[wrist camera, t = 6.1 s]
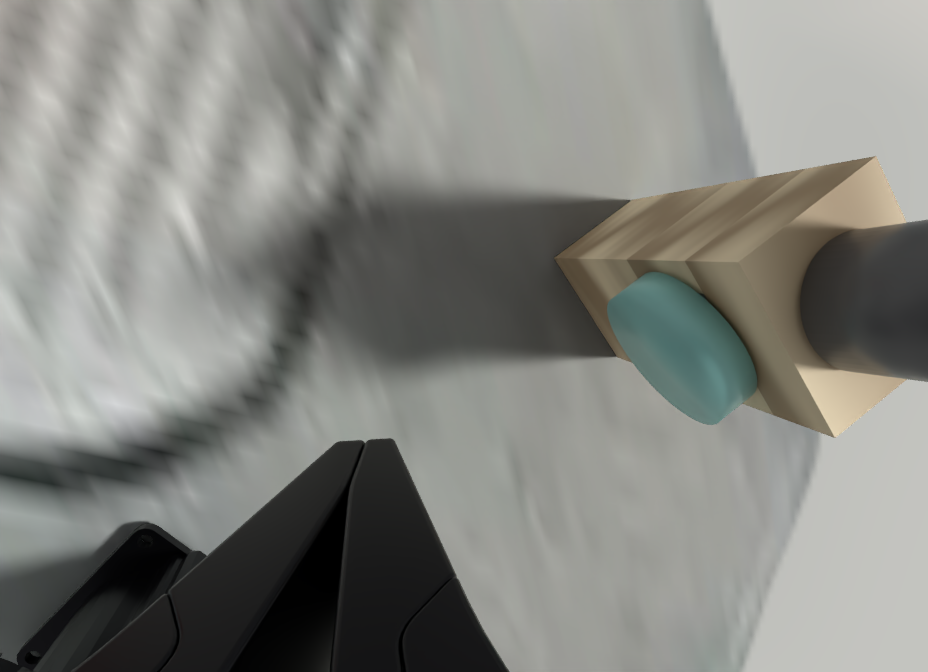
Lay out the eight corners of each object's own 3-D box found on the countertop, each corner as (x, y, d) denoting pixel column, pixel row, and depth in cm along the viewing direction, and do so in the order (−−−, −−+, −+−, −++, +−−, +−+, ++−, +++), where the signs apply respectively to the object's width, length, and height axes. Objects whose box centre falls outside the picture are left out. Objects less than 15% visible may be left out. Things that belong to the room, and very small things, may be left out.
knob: (656, 402, 19) (749, 445, 15) (587, 292, 18) (665, 304, 14) (791, 296, 20) (918, 308, 15) (731, 183, 19) (849, 163, 14)
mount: (617, 356, 24) (835, 438, 14) (553, 257, 23) (738, 262, 13) (690, 300, 25) (959, 336, 14) (632, 199, 24) (876, 156, 13)
